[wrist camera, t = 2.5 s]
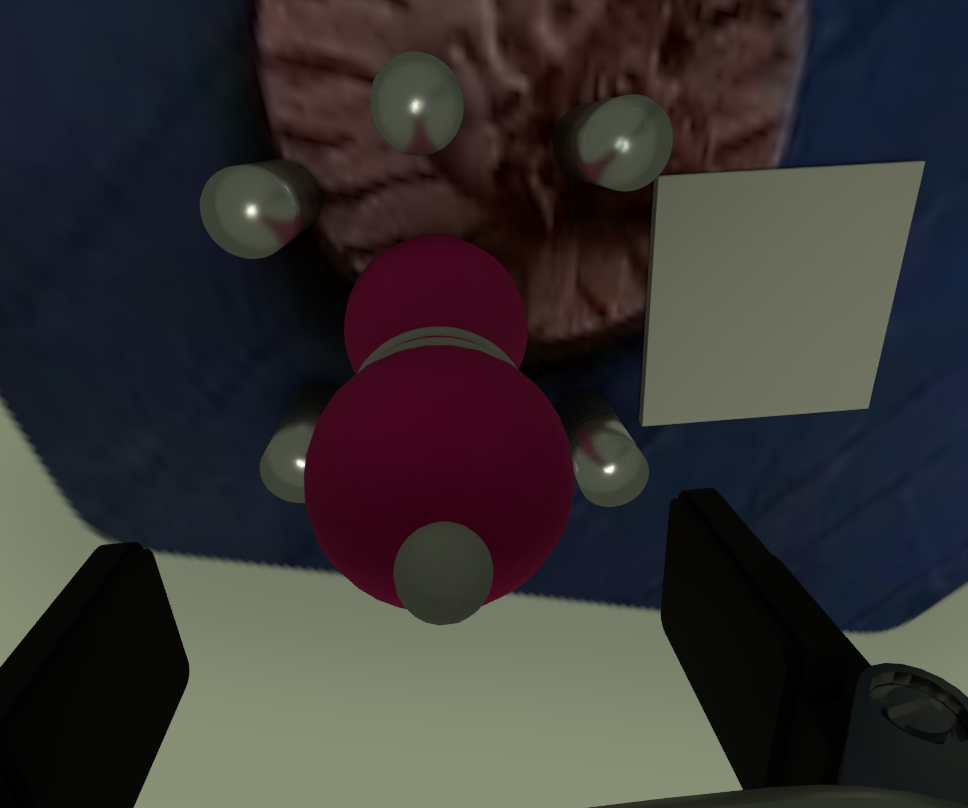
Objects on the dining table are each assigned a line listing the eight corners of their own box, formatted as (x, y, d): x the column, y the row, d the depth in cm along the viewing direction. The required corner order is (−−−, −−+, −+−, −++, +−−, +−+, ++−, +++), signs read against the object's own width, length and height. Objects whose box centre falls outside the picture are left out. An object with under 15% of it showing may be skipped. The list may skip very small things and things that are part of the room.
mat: (915, 160, 27) (925, 161, 27) (860, 403, 32) (868, 408, 32) (654, 175, 27) (658, 176, 26) (638, 421, 32) (642, 426, 31)
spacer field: (625, 60, 25) (680, 39, 19) (608, 465, 33) (644, 532, 27) (226, 79, 24) (165, 63, 18) (307, 490, 32) (281, 564, 26)
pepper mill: (441, 402, 30) (456, 807, 12) (324, 306, 28) (123, 630, 10) (544, 298, 29) (745, 586, 10) (429, 186, 26) (427, 303, 8)
